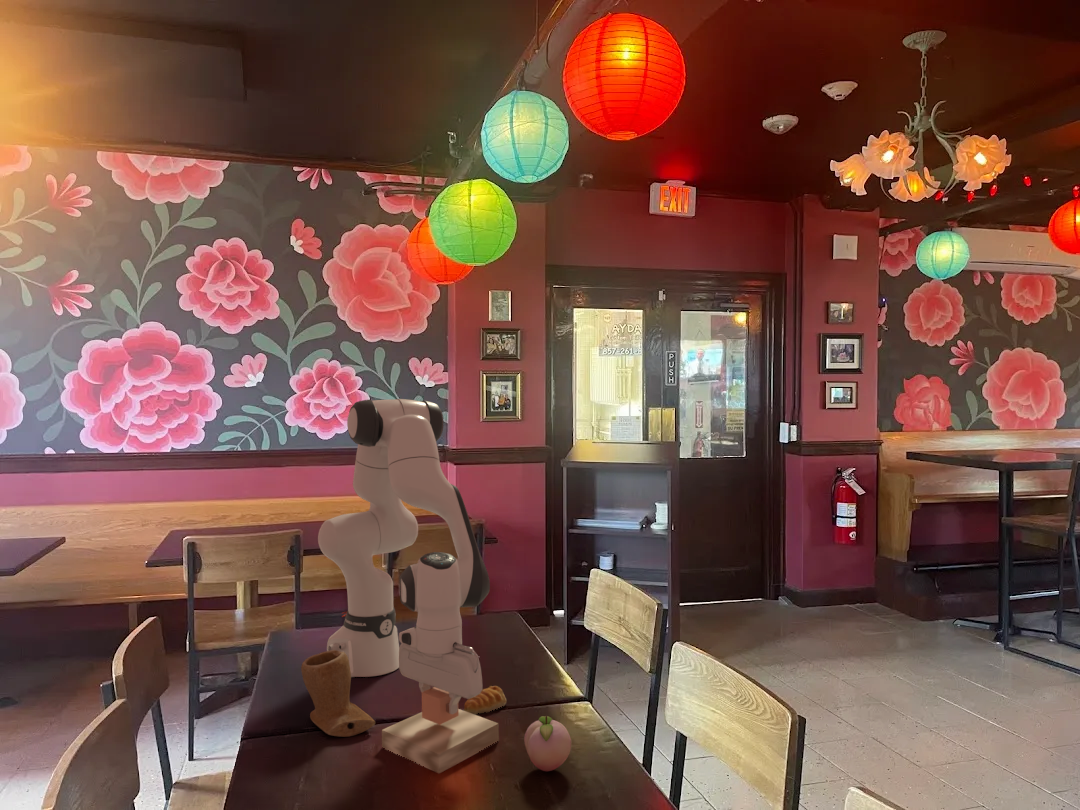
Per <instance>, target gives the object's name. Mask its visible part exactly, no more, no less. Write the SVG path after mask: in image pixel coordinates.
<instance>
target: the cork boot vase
mask: <svg viewBox="0 0 1080 810" xmlns="http://www.w3.org/2000/svg"><path fill="white" fill-rule="evenodd" d="M300 668H301V675H302V680H303V683H304V685H305V687H306V690H307V692H308V693H309V695H310V698H311V701H312V702H313V706H314V710H313V709H312V711H311V712H310V714H309V715H310V716H309V718H310V720H311V722H312V723H314V725H315V726H316V727H318V728H319V729H320V730H321V731H322V732H324V733H325V734H327V735H328V736H332V737H333V736H334V737H342V738H343V737H345V738H348V737H353V736H357V735H358V734H361V733H364V732H366V731H367V730H369V729H371V728H373V727H374V726H375V724H376V721H375V720H374V719H373V717H371V716H370V714H368V713H366V712H365V711H364V710H362V709H361V707H359V706H358V705H356V704H355V703H353V702H351V701H350V693H351V692H350V690H351V682H352V681H351V680H352V677H351V671H350V665H349V659H348V656H347V655H346V653H345V652H340V651H337V650H331V651H327V650H326V651H323V652H319V653H316V654H313V655H311V656H308V657H307V658H306V659H304V661H302V664H301V667H300Z"/></svg>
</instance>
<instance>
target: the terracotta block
mask: <svg viewBox="0 0 1080 810" xmlns="http://www.w3.org/2000/svg"><path fill="white" fill-rule="evenodd" d="M430 688H431V689H428V690H426V691H424V692H421V712H422V718H424V719H427V720H429V721H432V722H434V723H437V724H439V725H440V724H442V723H444V722H447V721H449V720H451V719H453V718H455V717H457V716H459V712H458V711H457V712H456V713H455V714H450V713H447V712H446V704H447V703H450V700H451V697H449V692H447V691H444V690H441V689H438V688H436V687H433V686H432V687H430Z"/></svg>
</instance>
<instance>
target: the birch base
mask: <svg viewBox="0 0 1080 810" xmlns="http://www.w3.org/2000/svg"><path fill="white" fill-rule="evenodd" d="M458 712H459V716H457V717H455V718H453V719H451V720H449V721H447V722H444V723H442V724H440V725H439V724H437V723H434V722H432V721H429V720H427V719H424V718H422V711H421V712H419V713H416V714H415V715H412V716H410V717H407V718H405V719H403V720H401V721H399V722H396V723H394V724H392V725H390V726H387V727H385V728H383V729H382V730H381V748H382V747H383V748H385V749H384V750H386V751H388V750H389V751H388V752H390V751H391V753H392V752H393V753H392V754H395V755H397V754H398V755H397V756H399V755H400V756H399V757H401V756H402V758H403V757H405V758H404V759H406V758H407V759H406V760H408V759H409V760H408V761H410V760H411V762H412V761H414V762H413V763H415V762H416V763H415V764H417V765H419V764H420V765H419V766H421V767H423V766H424V768H426V769H428V770H430V771H433V772H434V773H436V774H442V773H443V772H444V771H446V770H449V769H450V768H452V767H455V766H456V765H457V764H460V763H461V762H463V761H465V760H467V759H469V758H470V757H473V756H474V755H476V754H478V753H479V751H480V752H482V751H483V750H485V749H487V748H489V747H491V746H493V745H494V744H496V743H498V742H499V741H500V737H499V736H500V735H499V730H500V729H499V722H496V721H493V720H490V719H488V718H485V717H482V716H480V715H478V714H472V713H469V712H466V711H464V709H463V710H462V709H461V708H460V709H459V708H458ZM497 741H498V742H497ZM495 742H496V743H495ZM493 743H494V744H493ZM492 744H493V745H492ZM490 745H491V746H490ZM488 746H489V747H488ZM486 747H487V748H486ZM383 748H382V749H383ZM484 748H485V749H484ZM481 750H482V751H481Z"/></svg>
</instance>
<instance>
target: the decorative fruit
mask: <svg viewBox="0 0 1080 810" xmlns="http://www.w3.org/2000/svg"><path fill="white" fill-rule="evenodd" d="M523 742H524V746H525V749H526V752H527V755H528V757H529V759H530V761H531V763H532V764H533V766H535V767H536V768H537V769H538V770H541V771H542V772H546V773H547V772H552V771H554V770H556V769H558V768H559V767H561V766H562V765H563V764H564V763H565V762H566V760H567V759H568V757H569V755H570V752H571V750H572V739H571V736H570V733H569V731H568V729H567V728H566V727H565V726H564V724H562V723H561V722H559V721H557V720H554V719H553V718H552V717H550V716H548V715H545V716H540V717H539V718H538V720H535V721H534V722H532V723H531V724H530V725H529V726H528V727H527V729H526V731H525V733H524V741H523Z"/></svg>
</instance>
